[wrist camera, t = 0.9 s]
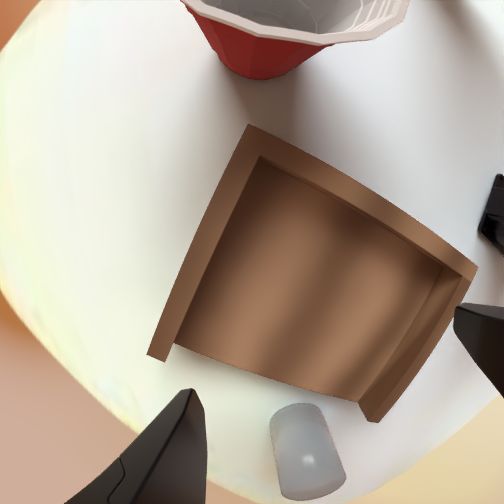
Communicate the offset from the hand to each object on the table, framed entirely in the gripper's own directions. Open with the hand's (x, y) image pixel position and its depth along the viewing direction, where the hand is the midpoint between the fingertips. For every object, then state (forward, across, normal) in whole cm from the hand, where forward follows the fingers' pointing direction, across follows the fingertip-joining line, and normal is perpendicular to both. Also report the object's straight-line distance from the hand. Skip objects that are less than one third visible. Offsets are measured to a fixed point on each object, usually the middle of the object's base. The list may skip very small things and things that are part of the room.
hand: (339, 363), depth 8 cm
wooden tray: (+13, -2, +3) cm, 14 cm away
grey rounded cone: (+13, +2, +16) cm, 21 cm away
